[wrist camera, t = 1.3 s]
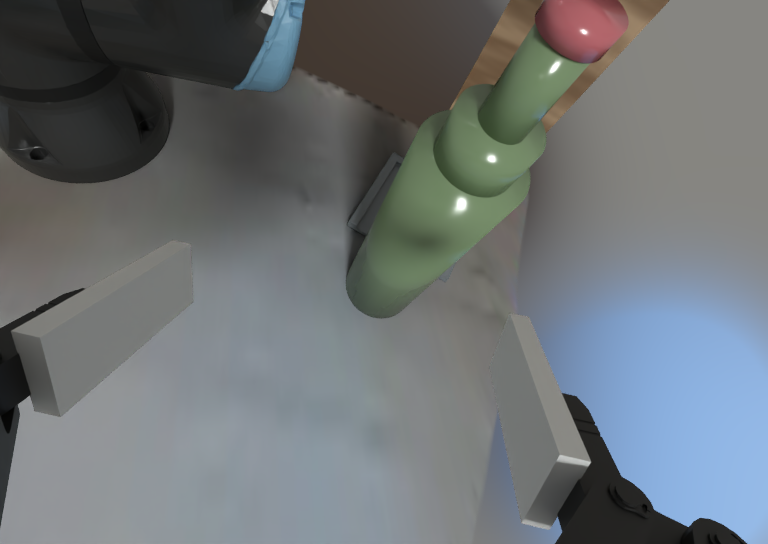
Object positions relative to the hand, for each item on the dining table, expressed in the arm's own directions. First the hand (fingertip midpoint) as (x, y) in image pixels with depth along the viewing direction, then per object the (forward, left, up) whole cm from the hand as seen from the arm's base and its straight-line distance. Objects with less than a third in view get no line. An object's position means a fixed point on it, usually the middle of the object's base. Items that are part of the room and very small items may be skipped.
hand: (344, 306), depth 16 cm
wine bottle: (-4, +12, -23) cm, 26 cm away
